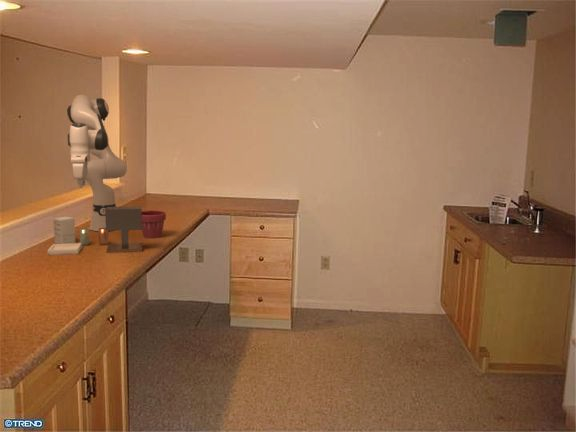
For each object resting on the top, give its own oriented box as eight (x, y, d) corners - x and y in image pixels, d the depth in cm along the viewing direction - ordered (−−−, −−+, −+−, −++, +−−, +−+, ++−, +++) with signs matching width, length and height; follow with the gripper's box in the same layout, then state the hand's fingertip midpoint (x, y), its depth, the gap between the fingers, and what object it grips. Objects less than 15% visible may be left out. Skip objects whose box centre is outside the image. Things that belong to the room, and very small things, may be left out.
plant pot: (159, 240, 292) (158, 215, 290) (133, 238, 295) (133, 214, 293) (170, 234, 306) (169, 211, 304) (146, 233, 309) (145, 209, 307)
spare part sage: (80, 244, 281) (79, 228, 280) (90, 243, 282) (89, 228, 281) (79, 246, 277) (78, 230, 276) (88, 245, 278) (88, 229, 277)
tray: (53, 248, 272) (52, 244, 271) (82, 247, 274) (81, 243, 274) (47, 255, 259) (47, 250, 259) (77, 254, 262) (77, 249, 261)
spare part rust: (99, 243, 283) (98, 227, 282) (109, 243, 284) (108, 227, 283) (98, 245, 279) (97, 229, 278) (108, 245, 280) (107, 229, 278)
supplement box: (68, 240, 289) (66, 216, 286) (76, 242, 284) (74, 217, 282) (54, 243, 283) (52, 218, 281) (62, 245, 278) (60, 219, 276)
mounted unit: (109, 246, 276) (107, 206, 273) (143, 245, 280) (141, 205, 276) (106, 252, 265) (104, 210, 261) (142, 251, 268) (140, 209, 265)
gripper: (76, 156, 282) (78, 184, 284) (70, 159, 262) (71, 189, 264) (90, 156, 283) (91, 183, 285) (84, 159, 263) (86, 189, 266)
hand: (81, 186), depth 275 cm, fingers open, 8 cm apart
